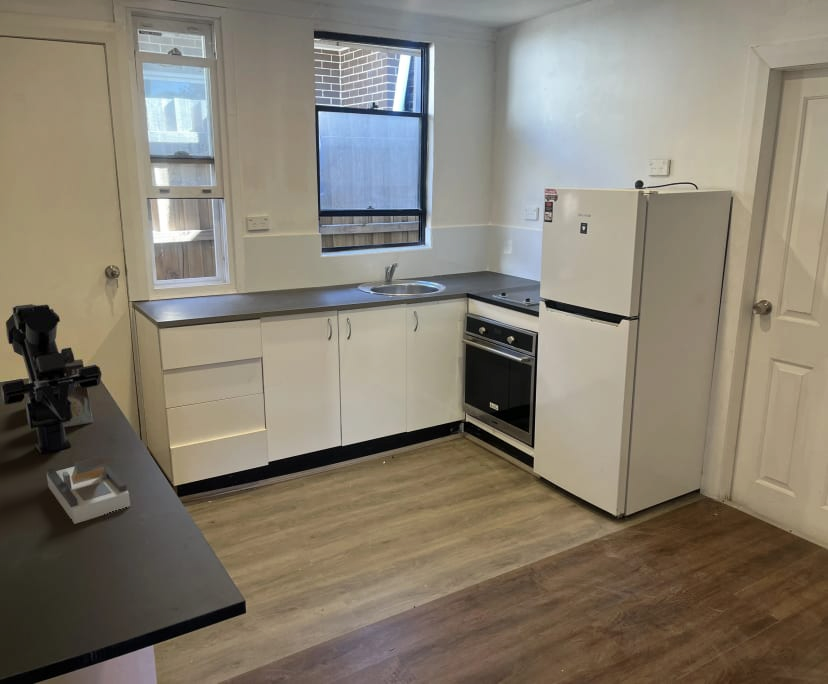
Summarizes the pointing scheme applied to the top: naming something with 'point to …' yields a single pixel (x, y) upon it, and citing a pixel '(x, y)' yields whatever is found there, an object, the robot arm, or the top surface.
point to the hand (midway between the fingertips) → (63, 419)
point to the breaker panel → (88, 494)
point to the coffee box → (78, 399)
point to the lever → (88, 469)
